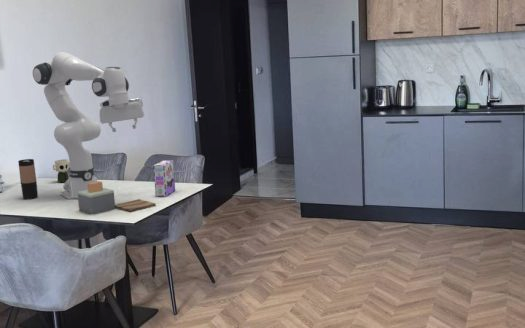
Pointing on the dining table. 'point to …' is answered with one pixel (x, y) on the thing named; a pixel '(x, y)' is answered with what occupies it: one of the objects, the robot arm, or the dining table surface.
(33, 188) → the travel mug
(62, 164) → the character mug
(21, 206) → the dining table surface
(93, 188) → the lid
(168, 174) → the candy box
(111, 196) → the storage box
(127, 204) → the walnut board
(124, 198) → the dining table surface
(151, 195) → the dining table surface
